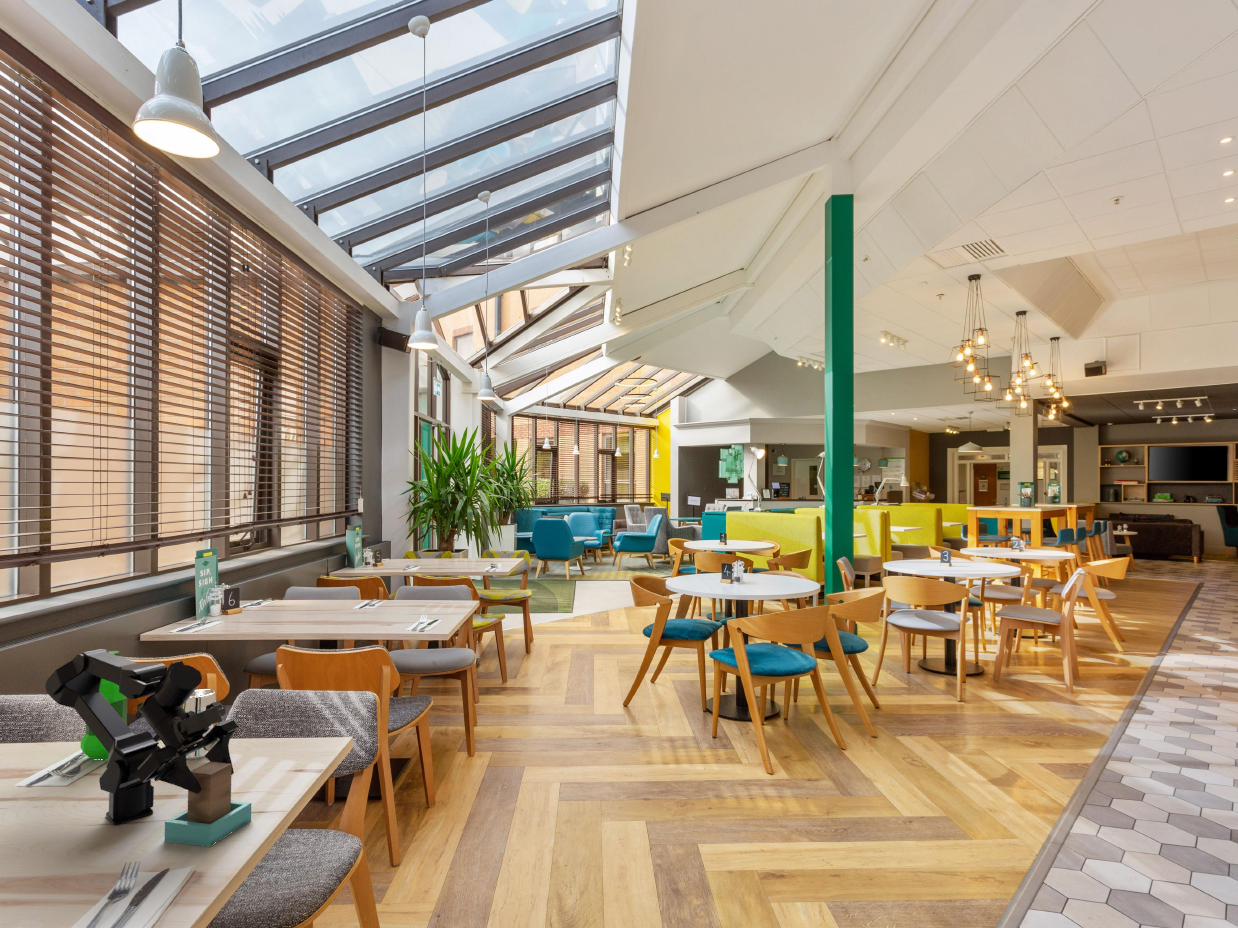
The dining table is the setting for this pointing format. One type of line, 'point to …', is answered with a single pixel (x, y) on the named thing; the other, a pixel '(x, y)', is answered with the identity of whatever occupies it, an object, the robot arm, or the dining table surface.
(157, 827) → the dining table surface
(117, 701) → the plastic bottle
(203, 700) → the beer glass
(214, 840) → the teal tray
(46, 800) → the dining table surface
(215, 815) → the walnut post
